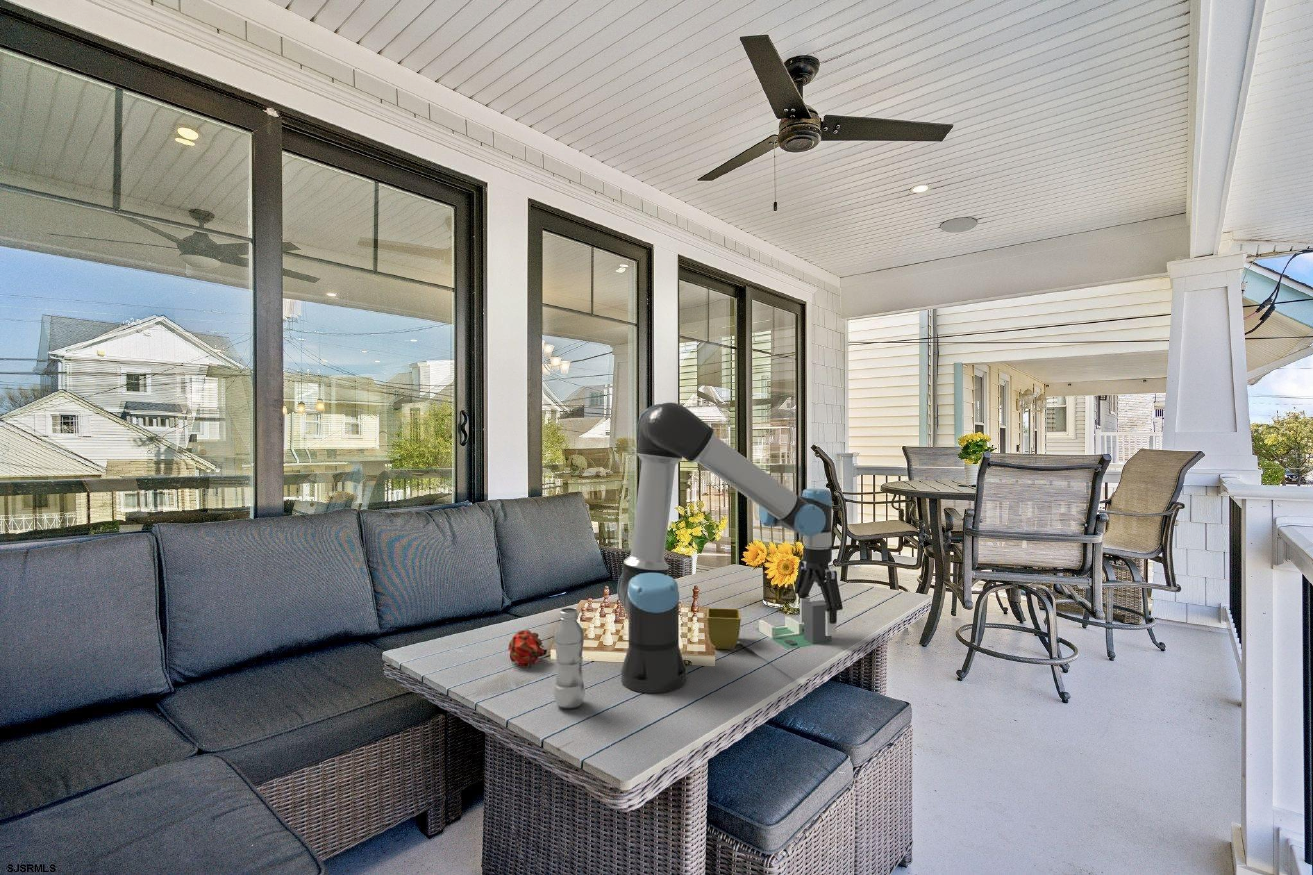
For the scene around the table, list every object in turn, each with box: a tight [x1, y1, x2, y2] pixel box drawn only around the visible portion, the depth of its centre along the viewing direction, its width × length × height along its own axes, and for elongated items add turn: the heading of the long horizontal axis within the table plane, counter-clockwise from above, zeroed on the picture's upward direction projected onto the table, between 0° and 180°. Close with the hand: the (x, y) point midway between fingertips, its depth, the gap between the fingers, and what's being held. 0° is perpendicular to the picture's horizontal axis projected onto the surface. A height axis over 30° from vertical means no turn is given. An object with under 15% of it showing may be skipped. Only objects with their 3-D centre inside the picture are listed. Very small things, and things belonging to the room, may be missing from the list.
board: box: [755, 616, 837, 649], centre depth 168 cm, size 15×17×4 cm
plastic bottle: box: [553, 607, 586, 709], centre depth 128 cm, size 6×7×20 cm
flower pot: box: [706, 607, 742, 650], centre depth 162 cm, size 9×9×9 cm
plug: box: [803, 599, 833, 645], centre depth 163 cm, size 7×4×10 cm, turn 110°
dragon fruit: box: [508, 629, 548, 668], centre depth 151 cm, size 8×8×12 cm
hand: (817, 628), depth 163 cm, fingers open, 11 cm apart
